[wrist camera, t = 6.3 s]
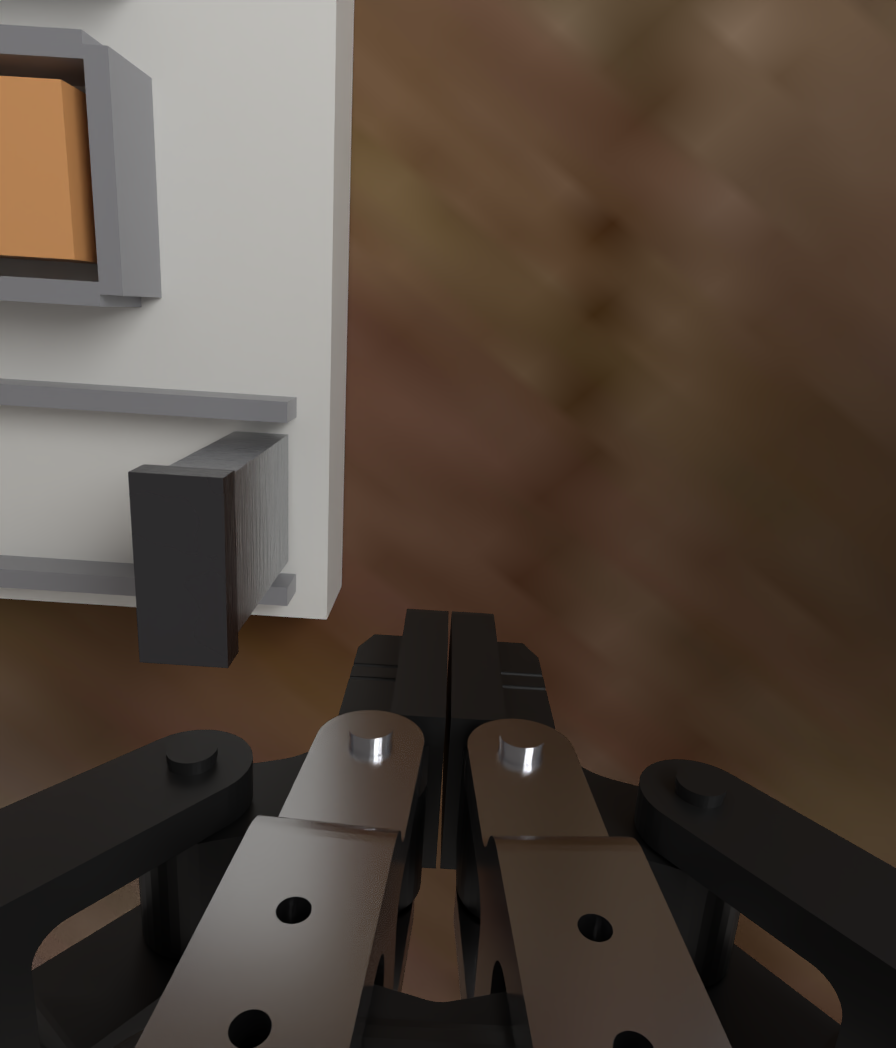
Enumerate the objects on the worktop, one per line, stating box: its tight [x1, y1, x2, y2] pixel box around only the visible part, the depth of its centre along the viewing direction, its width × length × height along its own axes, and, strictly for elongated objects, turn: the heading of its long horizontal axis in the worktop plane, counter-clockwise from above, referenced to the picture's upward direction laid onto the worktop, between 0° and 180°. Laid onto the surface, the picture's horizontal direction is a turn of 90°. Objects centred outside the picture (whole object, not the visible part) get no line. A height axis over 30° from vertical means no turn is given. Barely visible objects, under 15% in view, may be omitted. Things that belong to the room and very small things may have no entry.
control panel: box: [0, 0, 354, 619], centre depth 21 cm, size 16×25×6 cm, turn 177°
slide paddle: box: [128, 431, 288, 668], centre depth 19 cm, size 2×4×7 cm, turn 177°
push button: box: [0, 76, 97, 264], centre depth 19 cm, size 4×4×2 cm
